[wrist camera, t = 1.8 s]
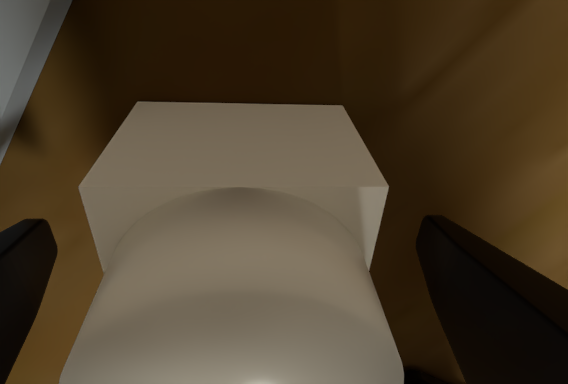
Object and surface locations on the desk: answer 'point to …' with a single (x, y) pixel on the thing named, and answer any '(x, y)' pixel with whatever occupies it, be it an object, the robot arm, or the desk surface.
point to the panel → (24, 55)
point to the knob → (235, 250)
